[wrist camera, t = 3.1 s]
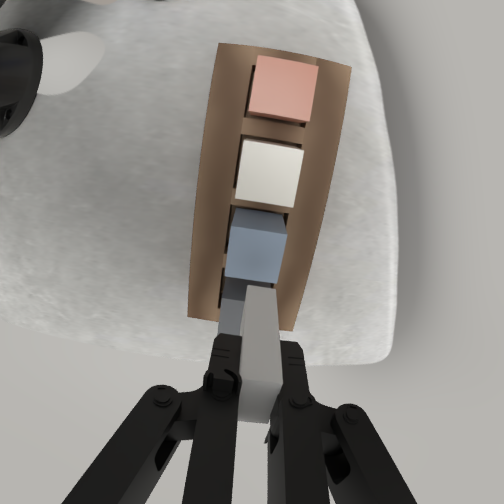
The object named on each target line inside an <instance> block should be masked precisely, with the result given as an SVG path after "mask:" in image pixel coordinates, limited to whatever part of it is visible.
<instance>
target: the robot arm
mask: <svg viewBox="0 0 504 504" xmlns="http://www.w3.org/2000/svg"><path fill="white" fill-rule="evenodd" d="M5 1H6V0H0V8H1V7H2V5H3V4H4V3H5ZM42 66H43V52H42V46H41V43H40V40H39V39H38V37H37V36H36V35H35V34H34V33H33V32H31V31H27V30H23V29H18V28H13V29H8V30H3V31H0V138H1V137H4V136H7V135H8V134H10V133H11V132H13V131H14V130H15V129H16V128H17V127H18V126H19V125H20V123H21V122H22V121H23V119H24V118H25V116H26V115H27V113H28V111H29V109H30V107H31V105H32V103H33V101H34V98H35V96H36V93H37V90H38V87H39V83H40V79H41V74H42ZM269 419H270V429H269V431H268V434H267V436H266V438H265V443H267V442H268V501H267V504H330V499H329V491H328V487H329V489H330V491H331V494H332V496H333V498H334V501H335V503H336V504H417V502H416V501H415V499H414V497H413V495H412V494H411V492H410V490H409V488H408V486H407V484H406V483H405V481H404V479H403V477H402V475H401V474H400V472H399V470H398V468H397V467H396V465H395V463H394V461H393V460H392V458H391V456H390V454H389V452H388V451H387V449H386V447H385V445H384V444H383V442H382V440H381V438H380V437H379V435H378V433H377V432H376V430H375V428H374V426H373V424H372V423H371V421H370V419H369V417H368V416H367V414H366V412H365V411H364V410H363V409H362V408H361V407H359V406H357V405H354V404H343V405H341V406H339V407H338V408H337V409H335V408H332V407H328V406H325V405H322V404H320V403H318V402H317V401H316V400H315V398H314V397H313V396H312V395H311V393H310V392H309V386H308V380H307V374H306V367H305V361H304V354H303V350H302V348H301V347H300V345H299V344H298V342H292V341H282V340H280V335H279V322H278V310H277V298H276V289H272V288H265V287H258V286H252V285H248V286H247V292H246V297H245V303H244V309H243V315H242V321H241V327H240V336H238V335H231V334H225V333H220V334H219V335H218V336H217V337H216V338H215V339H214V343H213V348H212V353H211V357H210V362H209V367H208V370H207V371H206V373H205V375H204V378H203V386H202V387H201V388H199V389H197V390H195V391H191V392H182V393H178V391H177V390H176V389H174V388H172V387H171V386H167V385H156V386H153V387H151V388H150V389H148V390H147V391H146V392H145V394H144V395H143V396H142V398H141V399H140V400H139V402H138V403H137V404H136V406H135V407H134V408H133V409H132V411H131V412H130V413H129V415H128V416H127V417H126V419H125V420H124V421H123V423H122V424H121V425H120V427H119V428H118V429H117V431H116V432H115V434H114V435H113V436H112V437H111V439H110V440H109V441H108V443H107V444H106V445H105V447H104V448H103V449H102V451H101V452H100V453H99V455H98V456H97V457H96V459H95V460H94V461H93V463H92V464H91V465H90V467H89V468H88V469H87V470H86V472H85V473H84V474H83V476H82V477H81V478H80V480H79V481H78V482H77V484H76V485H75V486H74V488H73V489H72V491H71V492H70V493H69V494H68V496H67V497H66V498H65V500H64V501H63V502H62V504H145V503H146V501H147V499H148V497H149V496H150V494H151V492H152V491H153V489H154V487H155V485H156V484H157V482H158V480H159V479H160V477H161V475H162V473H163V472H164V470H165V468H166V466H167V465H168V463H169V461H170V459H171V458H172V456H173V454H174V452H175V451H176V449H177V447H178V445H179V444H180V442H181V440H191V439H193V444H192V449H191V454H190V460H189V466H188V471H187V477H186V482H185V488H184V495H183V500H182V504H231V501H232V488H233V474H234V460H235V447H236V434H237V433H236V432H237V421H245V422H255V423H266V424H267V423H268V422H269Z"/></svg>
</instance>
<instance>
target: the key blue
mask: <svg viewBox="0 0 504 504" xmlns="http://www.w3.org/2000/svg"><path fill="white" fill-rule="evenodd" d="M286 240H287V231H286V227H285V223H284V220H283V216H282V215H281V214H275V213H269V212H263V211H256V210H250V209H243V208H237V207H236V210H235V214H234V217H233V221H232V224H231V230H230V238H229V245H228V253H227V260H226V268H225V276H227V277H234V278H241V279H247V280H254V281H261V282H268V283H275V284H277V281H278V276H279V272H280V267H281V263H282V258H283V254H284V249H285V244H286Z"/></svg>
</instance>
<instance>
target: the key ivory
mask: <svg viewBox="0 0 504 504" xmlns="http://www.w3.org/2000/svg"><path fill="white" fill-rule="evenodd" d="M303 154H304V150H302V149H300V148H297V147H295V146H290V145H285V144H279V143H274V142H268V141H261V140H255V139H248V138H246V139H245V140H244V141H243V148H242V154H241V161H240V167H239V174H238V181H237V188H236V195H235V199H242V200H249V201H255V202H262V203H268V204H274V205H280V206H286V207H292V208H293V206H294V201H295V196H296V191H297V186H298V181H299V175H300V170H301V165H302V160H303Z"/></svg>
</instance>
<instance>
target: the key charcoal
mask: <svg viewBox="0 0 504 504" xmlns="http://www.w3.org/2000/svg"><path fill="white" fill-rule="evenodd" d="M248 285H252V286H258V287H265V288H271V284H270V283H268V282H261V281H254V280H247V279H241V278H234V277H227V276H226V280H225V285H224V289H223V294H222V300H221V308H220V317H219V325H218V334H217V336H218V335H219V334H220V333H225V334H231V335H238V336H240V327H241V321H242V315H243V309H244V303H245V297H246V292H247V286H248Z"/></svg>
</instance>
